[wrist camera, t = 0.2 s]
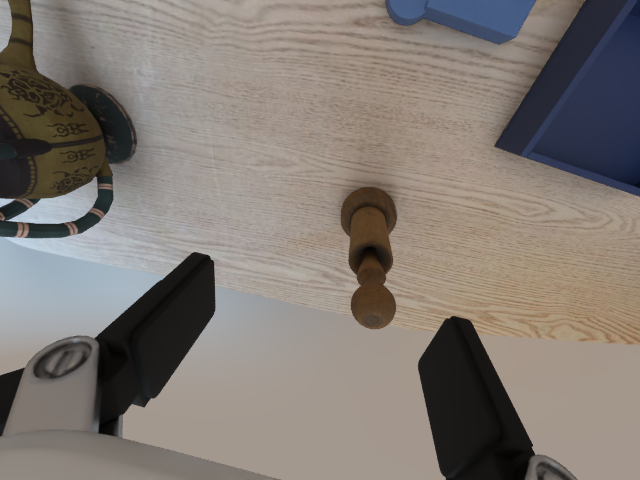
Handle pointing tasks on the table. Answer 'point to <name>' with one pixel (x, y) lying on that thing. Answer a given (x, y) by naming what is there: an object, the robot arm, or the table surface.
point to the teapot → (53, 137)
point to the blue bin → (587, 100)
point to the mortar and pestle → (370, 254)
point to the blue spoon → (466, 15)
